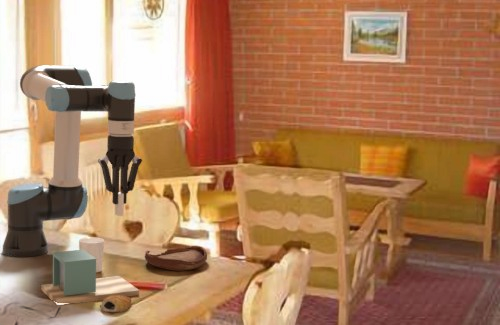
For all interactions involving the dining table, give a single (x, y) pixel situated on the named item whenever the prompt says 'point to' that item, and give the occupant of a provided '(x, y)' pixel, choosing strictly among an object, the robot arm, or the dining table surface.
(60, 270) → the block
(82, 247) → the white cup
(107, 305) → the pastry
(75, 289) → the housing cover
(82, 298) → the pin board
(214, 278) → the dining table surface
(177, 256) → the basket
